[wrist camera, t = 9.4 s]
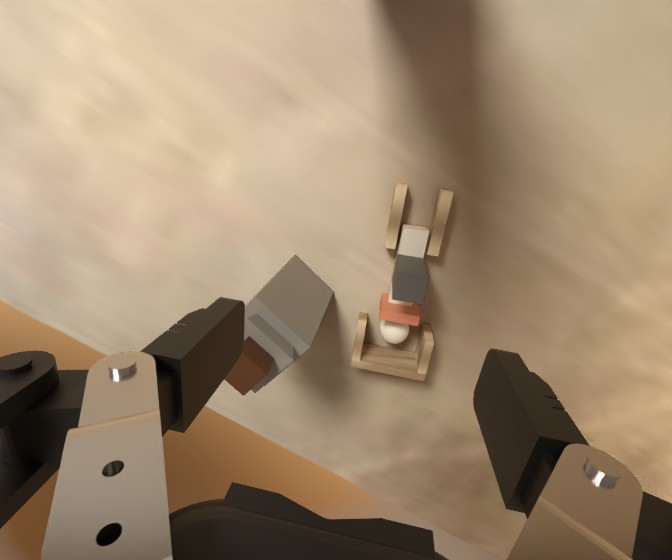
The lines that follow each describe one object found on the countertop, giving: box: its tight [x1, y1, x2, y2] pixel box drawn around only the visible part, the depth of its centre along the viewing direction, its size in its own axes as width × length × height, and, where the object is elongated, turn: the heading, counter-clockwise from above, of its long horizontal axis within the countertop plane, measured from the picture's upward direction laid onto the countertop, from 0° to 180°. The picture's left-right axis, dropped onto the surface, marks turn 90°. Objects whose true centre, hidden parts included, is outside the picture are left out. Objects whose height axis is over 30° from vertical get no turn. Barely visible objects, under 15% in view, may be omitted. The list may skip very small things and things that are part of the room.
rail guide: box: [385, 183, 454, 256], centre depth 38 cm, size 7×6×2 cm
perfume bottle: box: [224, 254, 334, 396], centre depth 36 cm, size 7×7×18 cm
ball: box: [380, 320, 409, 344], centre depth 42 cm, size 4×4×4 cm
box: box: [350, 312, 434, 381], centre depth 43 cm, size 5×9×4 cm, turn 83°
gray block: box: [379, 224, 430, 326], centre depth 37 cm, size 10×4×8 cm, turn 173°
